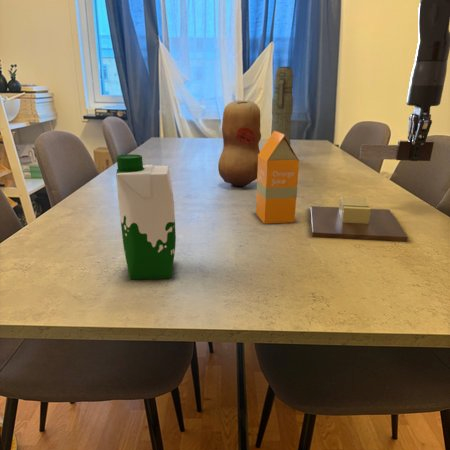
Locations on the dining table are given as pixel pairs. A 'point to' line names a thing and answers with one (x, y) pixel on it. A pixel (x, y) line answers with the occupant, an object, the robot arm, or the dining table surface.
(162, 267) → the milk carton
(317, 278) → the dining table surface
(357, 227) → the board
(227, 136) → the butternut squash
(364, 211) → the butter slice
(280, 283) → the dining table surface
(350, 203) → the butter block
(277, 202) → the orange juice
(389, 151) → the knife
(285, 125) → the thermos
